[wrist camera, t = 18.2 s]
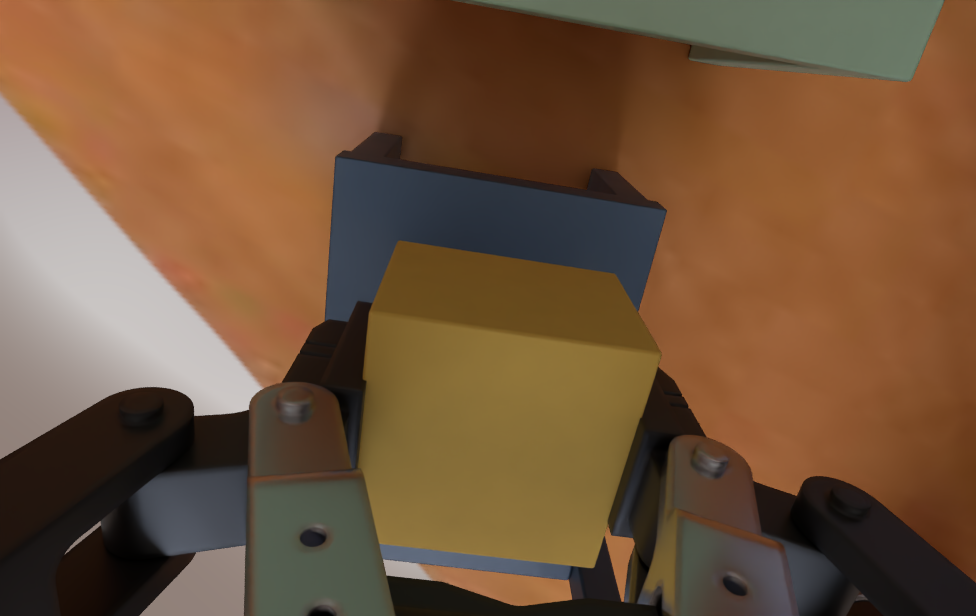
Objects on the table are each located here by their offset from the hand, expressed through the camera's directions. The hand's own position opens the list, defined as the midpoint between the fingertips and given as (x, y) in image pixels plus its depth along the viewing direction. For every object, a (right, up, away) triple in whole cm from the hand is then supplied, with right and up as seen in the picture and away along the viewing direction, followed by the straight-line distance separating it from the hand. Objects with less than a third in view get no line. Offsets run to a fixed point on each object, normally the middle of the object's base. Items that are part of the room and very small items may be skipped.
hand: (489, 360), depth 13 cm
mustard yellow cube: (0, 0, 0) cm, 0 cm away
